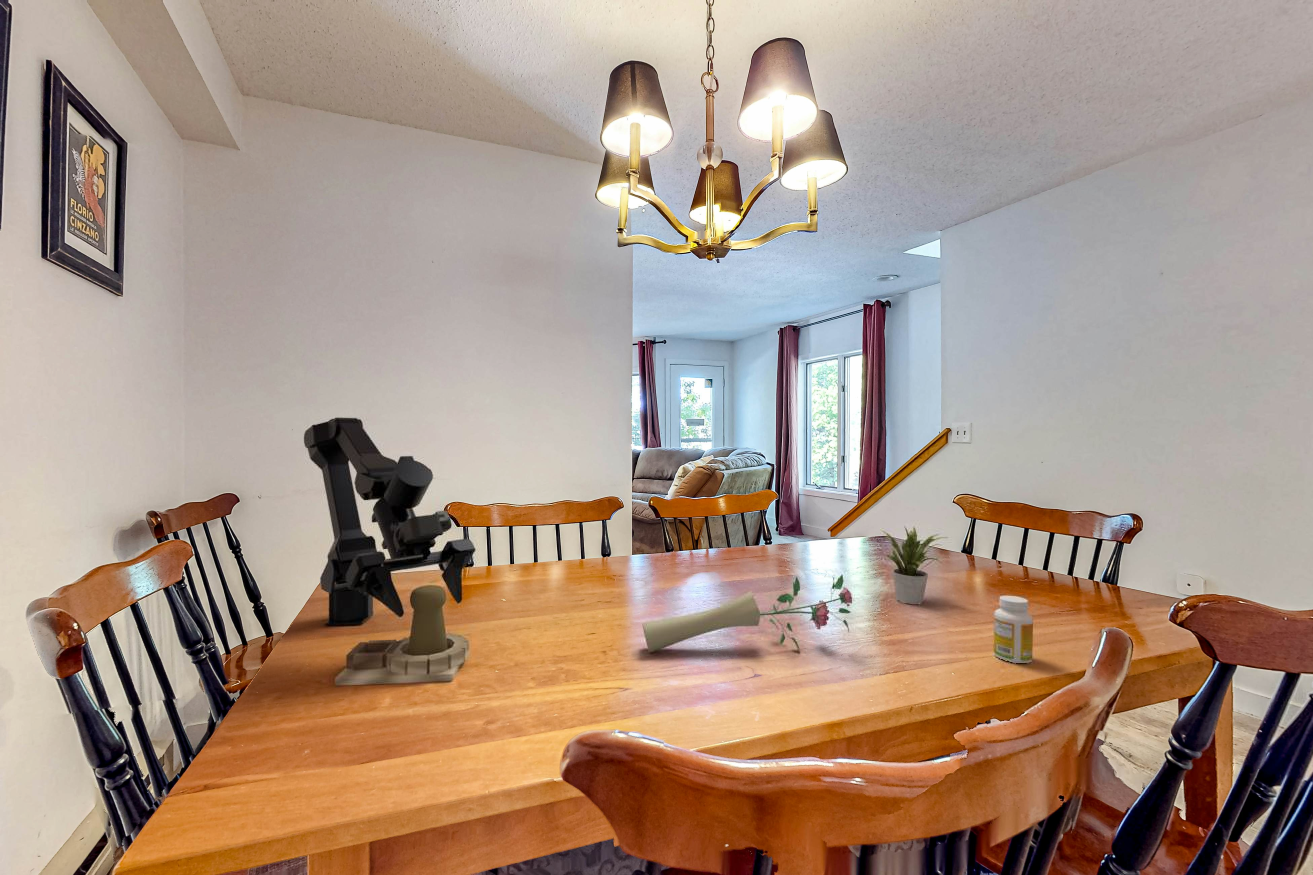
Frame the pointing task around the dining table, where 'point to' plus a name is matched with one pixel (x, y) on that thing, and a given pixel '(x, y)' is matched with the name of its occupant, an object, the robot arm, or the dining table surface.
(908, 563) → the house plant
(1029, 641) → the supplement bottle
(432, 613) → the olive tapered knobbed peg
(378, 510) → the robot arm
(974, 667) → the dining table surface
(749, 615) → the flower vase
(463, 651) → the holder
